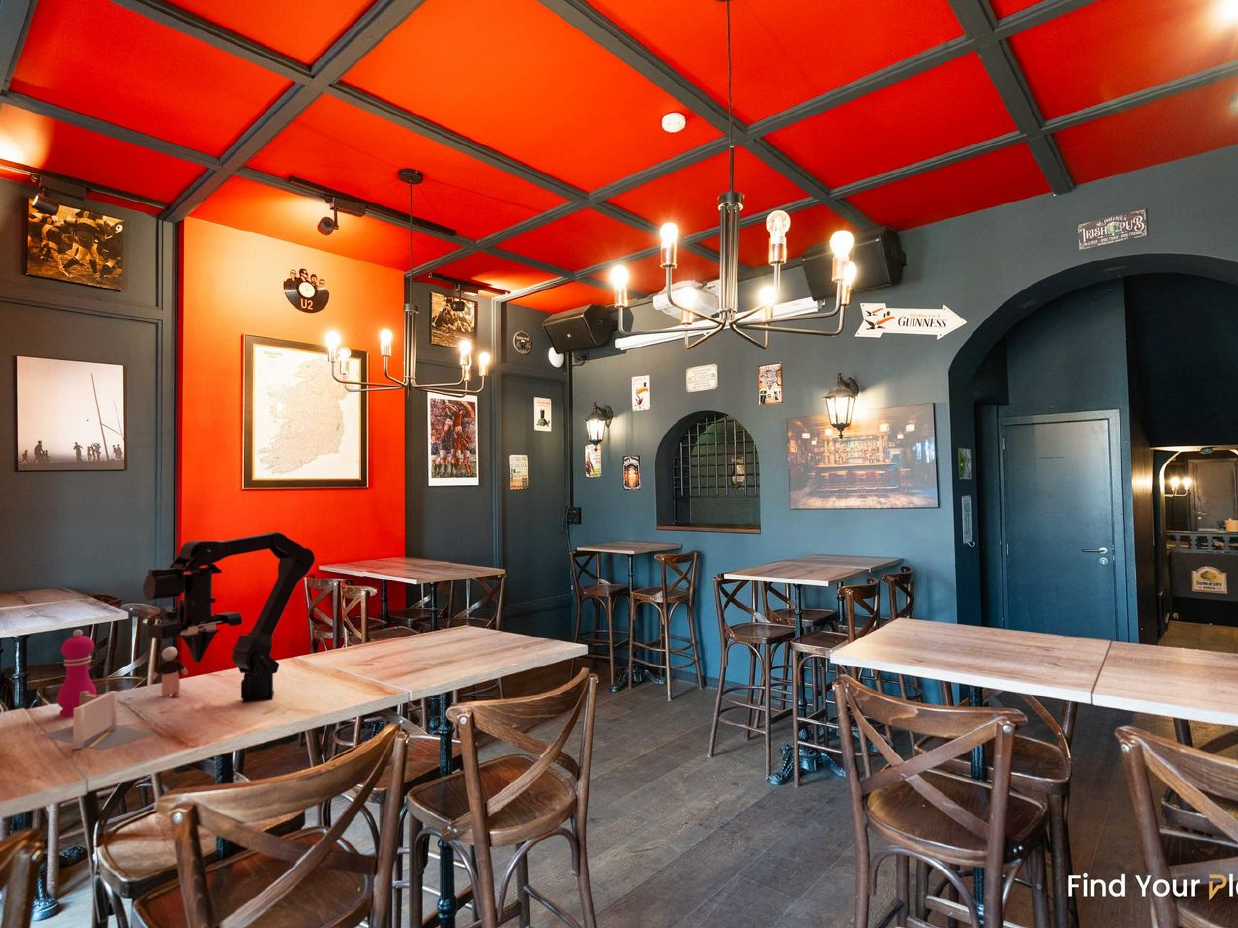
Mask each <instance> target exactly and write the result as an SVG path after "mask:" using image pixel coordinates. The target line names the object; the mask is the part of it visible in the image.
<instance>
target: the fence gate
mask: <svg viewBox="0 0 1238 928" xmlns="http://www.w3.org/2000/svg"><path fill="white" fill-rule="evenodd" d="M103 694H104V695H102V696H100V697H98V698H96V699H94V700H92V701H89V702H87V703H85V704H83V705H81V706H79V707H76V708H74V716H73V719H72V720H73V721H72V723H73V725H72V726H73V743H72V750H80V749H82V748H84V746H83V743H84V741H85V740H87V739H89V738H91V737H92V736H94V735H96V734H98V733H100V732H101V731H103V730H105V731H112V730H115V729H117V725H118V723H117V722H118V721H117V720H118V717H117V716H118V691H116V690H115V691H113V690H112V691H108V692H107V691H106V693H103Z"/></svg>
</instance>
